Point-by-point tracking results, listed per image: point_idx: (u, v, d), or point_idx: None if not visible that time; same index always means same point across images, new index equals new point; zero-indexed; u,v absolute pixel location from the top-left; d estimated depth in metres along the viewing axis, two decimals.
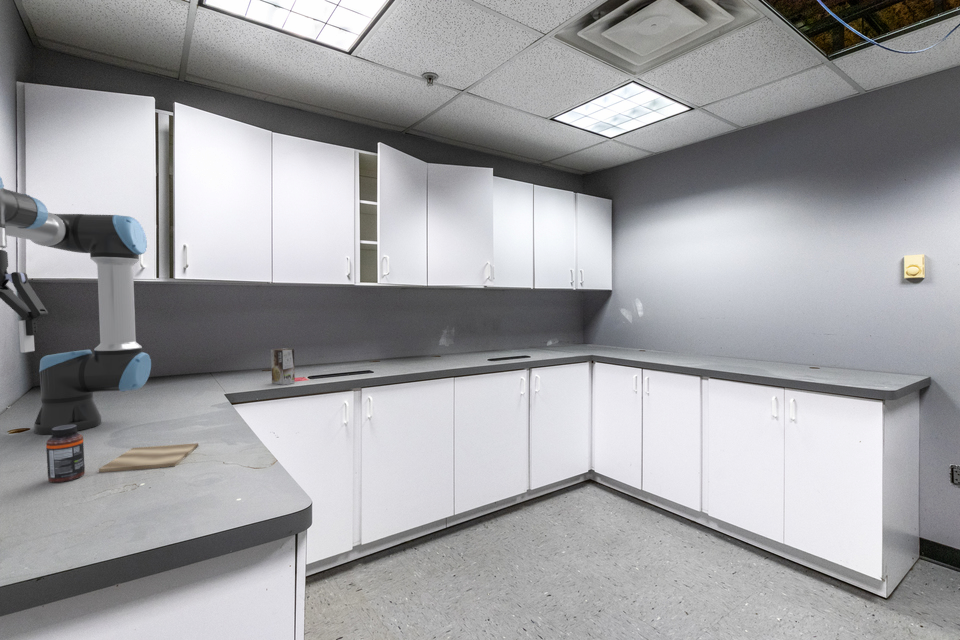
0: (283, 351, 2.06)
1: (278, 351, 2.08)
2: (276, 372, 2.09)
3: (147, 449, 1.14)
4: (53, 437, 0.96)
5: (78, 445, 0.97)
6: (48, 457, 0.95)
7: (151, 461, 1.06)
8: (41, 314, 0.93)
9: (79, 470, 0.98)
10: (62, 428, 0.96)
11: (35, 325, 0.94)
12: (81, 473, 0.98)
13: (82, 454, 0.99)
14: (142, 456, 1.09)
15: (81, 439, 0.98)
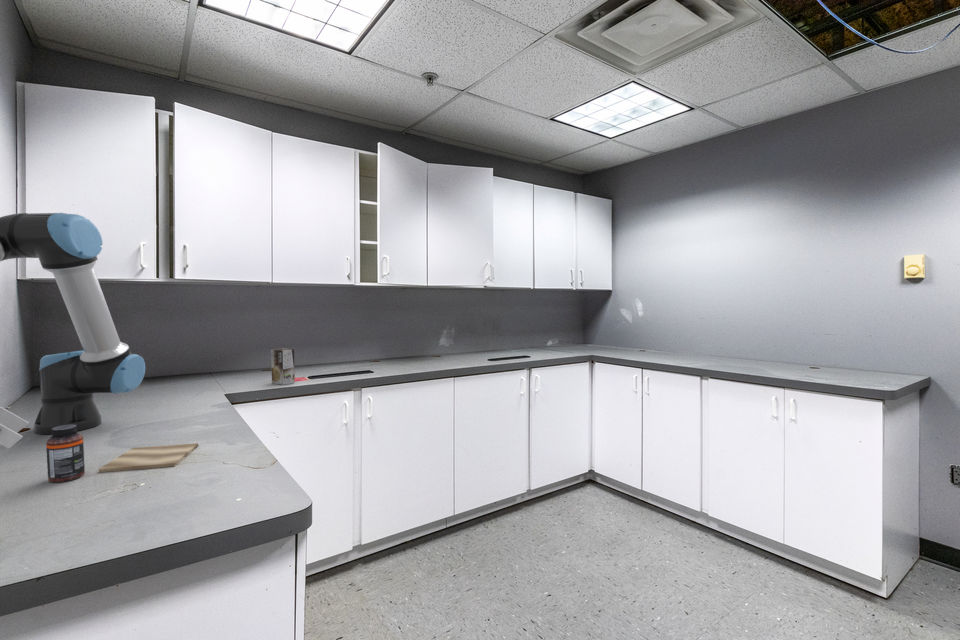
0: (283, 351, 2.07)
1: (278, 351, 2.08)
2: (276, 372, 2.09)
3: (147, 449, 1.14)
4: (53, 437, 0.96)
5: (78, 445, 0.97)
6: (48, 457, 0.95)
7: (151, 461, 1.06)
8: None
9: (79, 470, 0.98)
10: (62, 428, 0.96)
11: None
12: (81, 473, 0.98)
13: (82, 454, 0.99)
14: (142, 456, 1.09)
15: (81, 439, 0.98)
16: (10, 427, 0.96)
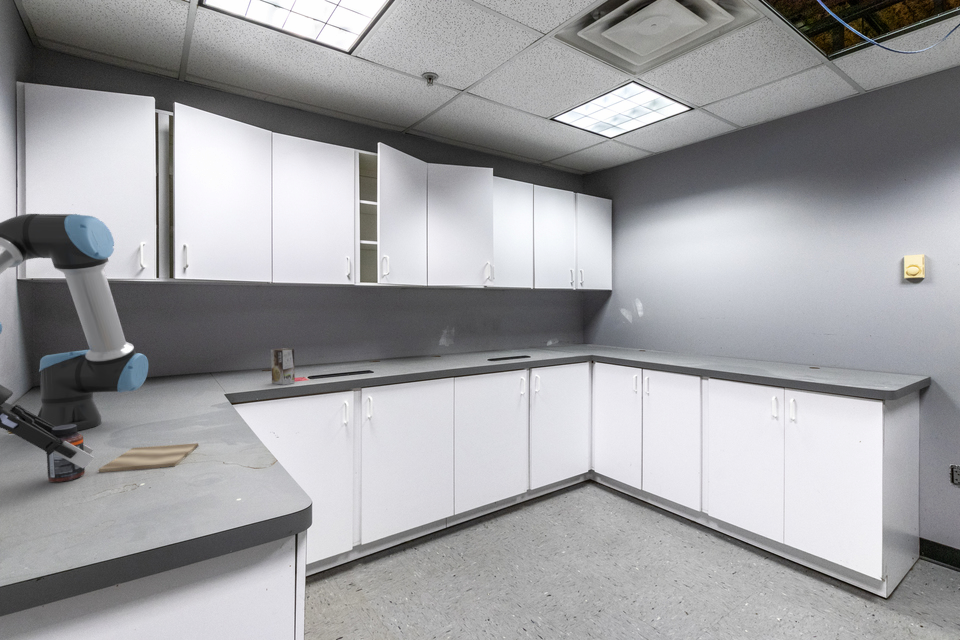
0: (283, 351, 2.07)
1: (278, 351, 2.08)
2: (276, 372, 2.09)
3: (147, 449, 1.14)
4: None
5: (78, 445, 0.97)
6: (48, 457, 0.95)
7: (151, 461, 1.06)
8: (49, 450, 0.91)
9: (79, 470, 0.98)
10: (62, 428, 0.96)
11: (64, 450, 0.94)
12: (81, 473, 0.98)
13: None
14: (142, 456, 1.09)
15: (81, 439, 0.98)
16: None
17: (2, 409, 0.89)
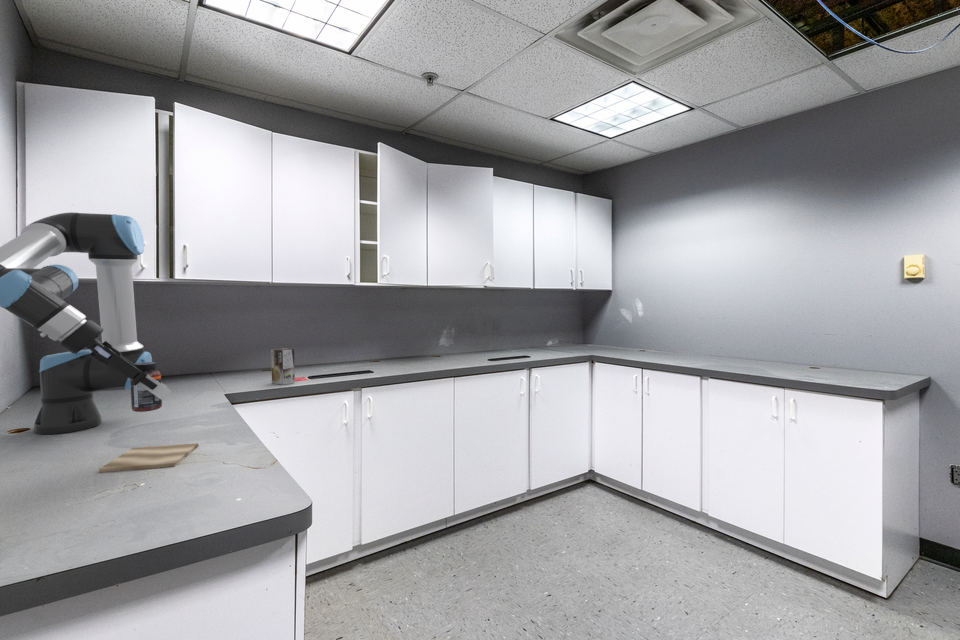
0: (283, 351, 2.07)
1: (278, 351, 2.08)
2: (276, 372, 2.09)
3: (147, 449, 1.14)
4: None
5: (157, 380, 1.08)
6: (132, 389, 1.06)
7: (151, 461, 1.06)
8: (136, 380, 1.02)
9: (158, 402, 1.09)
10: (144, 363, 1.07)
11: (148, 382, 1.05)
12: (159, 405, 1.09)
13: None
14: (142, 456, 1.09)
15: (159, 374, 1.09)
16: None
17: (97, 342, 1.00)
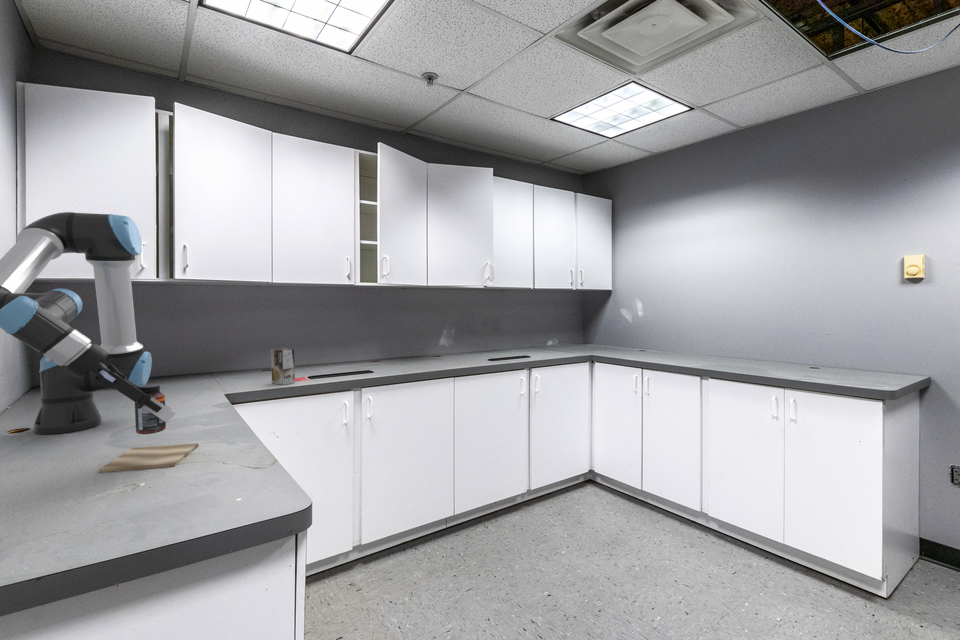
0: (283, 351, 2.07)
1: (278, 351, 2.08)
2: (276, 372, 2.09)
3: (147, 449, 1.14)
4: None
5: (161, 402, 1.09)
6: (137, 411, 1.06)
7: (151, 461, 1.06)
8: (141, 403, 1.03)
9: (162, 424, 1.09)
10: (148, 386, 1.08)
11: (152, 404, 1.06)
12: (163, 427, 1.10)
13: None
14: (142, 456, 1.09)
15: (163, 396, 1.10)
16: None
17: (102, 366, 1.00)
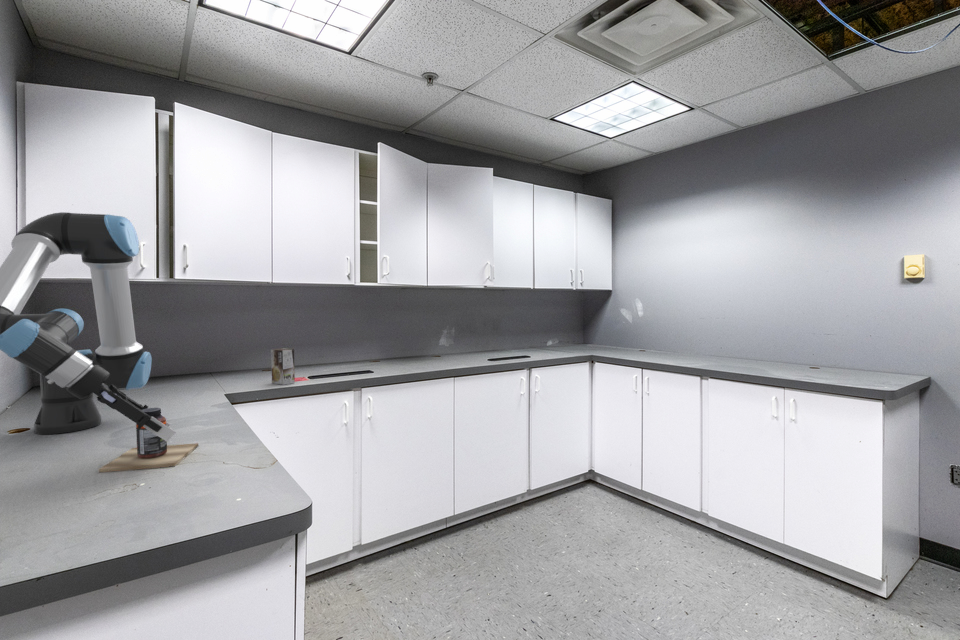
0: (283, 351, 2.07)
1: (278, 351, 2.08)
2: (276, 372, 2.09)
3: None
4: None
5: None
6: (138, 436, 1.07)
7: (151, 461, 1.06)
8: (141, 423, 1.02)
9: (163, 448, 1.10)
10: (150, 410, 1.08)
11: (152, 424, 1.05)
12: (165, 451, 1.10)
13: None
14: None
15: (165, 420, 1.10)
16: None
17: (103, 387, 1.01)
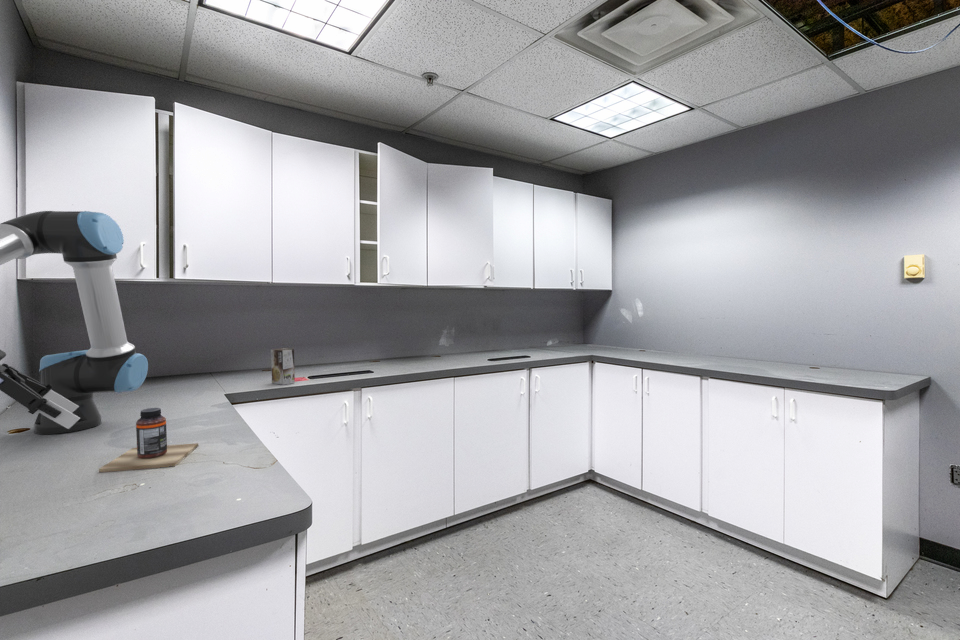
0: (283, 351, 2.07)
1: (278, 351, 2.08)
2: (276, 372, 2.09)
3: None
4: (142, 418, 1.08)
5: (163, 426, 1.09)
6: (138, 436, 1.07)
7: (151, 461, 1.06)
8: (32, 408, 0.89)
9: (163, 448, 1.10)
10: (149, 410, 1.08)
11: (49, 409, 0.91)
12: (165, 451, 1.10)
13: (165, 434, 1.11)
14: None
15: (165, 420, 1.10)
16: None
17: None
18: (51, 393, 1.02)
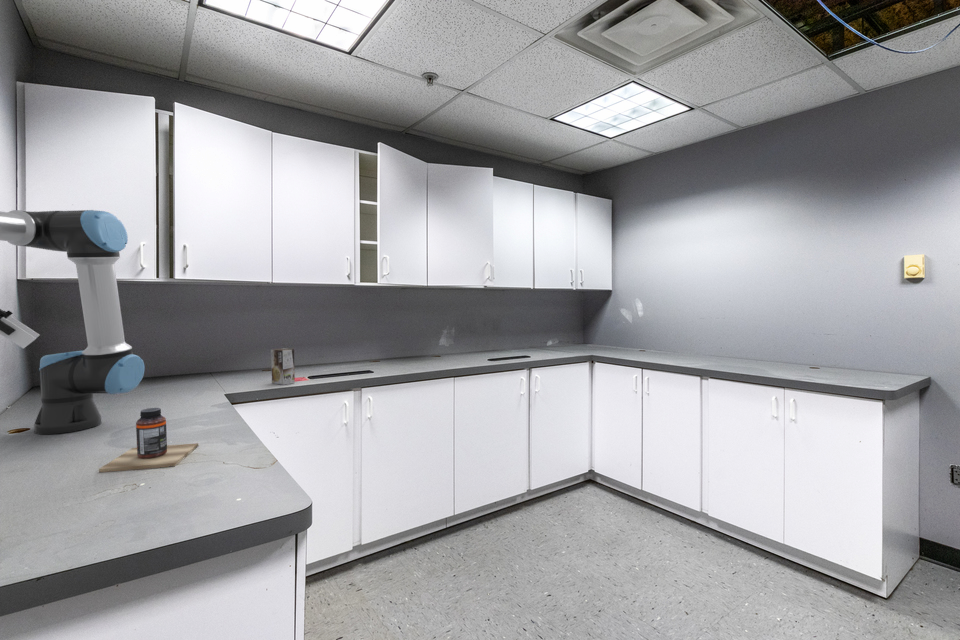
0: (283, 351, 2.07)
1: (278, 351, 2.08)
2: (276, 372, 2.09)
3: None
4: (142, 418, 1.08)
5: (163, 426, 1.09)
6: (138, 436, 1.07)
7: (151, 461, 1.06)
8: None
9: (163, 448, 1.10)
10: (149, 410, 1.08)
11: (2, 325, 0.89)
12: (165, 451, 1.10)
13: (165, 434, 1.11)
14: None
15: (165, 420, 1.10)
16: None
17: None
18: (10, 319, 1.00)
